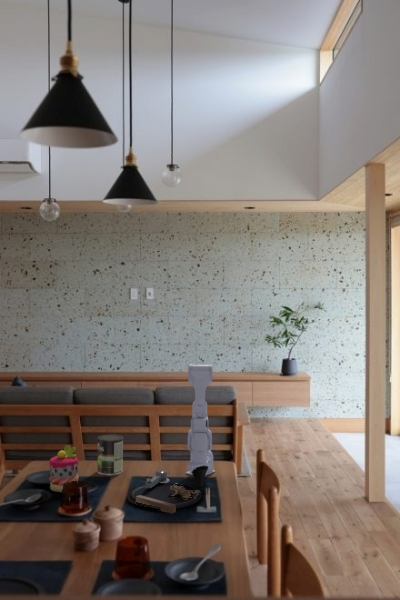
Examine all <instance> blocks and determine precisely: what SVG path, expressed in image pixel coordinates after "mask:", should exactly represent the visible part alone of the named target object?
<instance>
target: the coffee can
mask: <svg viewBox="0 0 400 600" xmlns="http://www.w3.org/2000/svg"><path fill="white" fill-rule="evenodd" d="M123 448H124V436H123V435H121V434H114V433H113V434H111V433H109V434H103V435H99V436H97V474H99V475H101V476H108V477H109V476H117V475H120V474H123V471H124V470H123V469H124V468H123V467H124V466H123V462H124V461H123V458H124V457H123V455H124V449H123Z"/></svg>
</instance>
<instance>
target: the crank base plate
mask: <svg viewBox="0 0 400 600" xmlns="http://www.w3.org/2000/svg"><path fill="white" fill-rule="evenodd" d="M159 483H164V484H168V483H170V479H169V478H168V477H167V480H164V481H160V482H159Z"/></svg>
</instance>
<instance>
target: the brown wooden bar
mask: <svg viewBox="0 0 400 600" xmlns="http://www.w3.org/2000/svg"><path fill="white" fill-rule="evenodd" d="M136 502H138V503H142V504H146V505H152V506H157V507H160V508H161V509H160V510H161V512H164V513H167V514H171V515H172V514H175V513H176V509H177V504H175V503H170V502H166V501H164V500H160V499H155V498H152V497H148V496H145V495H141V494H139V495H136V496H135V503H136ZM160 510H159V511H160Z"/></svg>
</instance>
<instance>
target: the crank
mask: <svg viewBox="0 0 400 600" xmlns="http://www.w3.org/2000/svg"><path fill="white" fill-rule="evenodd" d="M144 478H145V479H146V481H145V482H144V488H145V489H152V488H154V486H156V485H158V483H159V482H160V481H164V480H167V478H168V471H167V470H163V469H160V470H155V475H154V476H150V475H149V476H148V475H146V476H145V477H144Z"/></svg>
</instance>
